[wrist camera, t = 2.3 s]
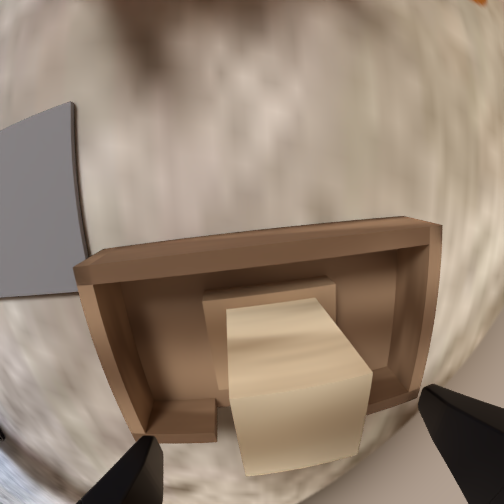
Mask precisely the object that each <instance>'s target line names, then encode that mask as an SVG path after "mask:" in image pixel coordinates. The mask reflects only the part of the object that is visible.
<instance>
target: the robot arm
mask: <svg viewBox="0 0 504 504" xmlns="http://www.w3.org/2000/svg"><path fill="white" fill-rule="evenodd" d="M418 409H419V411H420V414H421V416H422V418H423V420H424V422H425V424H426V427H427V429H428V431H429V433H430V436H431V438H432V440H433V442H434V443H435V445H436V447H437V448H438V450H439V452H440V454H441V455H442V457H443V459H444V461H445V462H446V464H447V466H448V468H449V469H450V471H451V473H452V475H453V476H454V478H455V480H456V482H457V484H458V485H459V487H460V489H461V491H462V493H463V494H464V496H465V498H466V500H467V502H468V504H504V408H501V407H498V406H495V405H492V404H489V403H485V402H483V401H480V400H477V399H474V398H471V397H468V396H465V395H463V394H460V393H457V392H454V391H451V390H449V389H446V388H443V387H441V386H438V385H435V384H431V385H428V386H426V387H424V388H423V389H422V392H421V396H420V399H419V402H418ZM4 440H5V437H4V435H3V434H2V432H1V431H0V441H4ZM162 502H163V451H162V449H161V447H160V445H159V443H158V441H157V438H156V437H155V436H152V435H143V436H141V437H140V438H139V439H138V441H137V442H136V443H135V444H134V445H133V446H132V447H131V448H130V449H129V450H128V451H127V452H126V453H125V454H124V455H123V456H122V457H121V459H120V460H119V461H118V462H117V463H116V464H115V465H114V466H113V467H112V468H111V469H110V470H109V471H108V472H107V473H106V474H105V475H104V476H103V477H102V478H101V479H100V480H99V481H98V482H97V483H96V484H95V485H94V486H93V487H92V488H91V489H90V490H89V491H88V492H87V493H86V494H85V495H84V496H83V497H82V498H81V500H79V501H78V502H77V503H76V504H162Z"/></svg>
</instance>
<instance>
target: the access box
mask: <svg viewBox="0 0 504 504" xmlns="http://www.w3.org/2000/svg"><path fill="white" fill-rule="evenodd" d="M441 251H442V225H439V224H435V223H431V222H427V221H422V220H418V219H414V218H409V217H405V216H398V217H386V218H375V219H363V220H352V221H342V222H331V223H321V224H310V225H301V226H291V227H281V228H272V229H262V230H253V231H244V232H235V233H227V234H218V235H209V236H201V237H193V238H184V239H176V240H168V241H160V242H153V243H145V244H137V245H130V246H122V247H115V248H108V249H103V250H101V251H99V252H98V253H96V254H94V255H92V256H91V257H89V258H87V259H86V260H84V261H82V262H81V263H79V264H77V265H76V266H74V267H73V272H74V276H75V280H76V284H77V288H78V292H79V296H80V300H81V304H82V307H83V311H84V314H85V317H86V321H87V324H88V327H89V330H90V334H91V337H92V340H93V343H94V345H95V348H96V351H97V354H98V357H99V360H100V362H101V365H102V368H103V370H104V373H105V375H106V378H107V380H108V383H109V385H110V388H111V390H112V392H113V395H114V397H115V399H116V401H117V404H118V406H119V408H120V410H121V412H122V415H123V417H124V419H125V421H126V423H127V425H128V427H129V429H130V431H131V433H132V435H133V437H134V439H135V441H136V442H137V441H138V439H139V438H140V437H141V436H143V435H152V436H155V437H156V438H157V441H158V443H208V442H217V407H226V406H231V405H230V400H229V379H228V350H227V314H226V309H234V308H243V307H251V306H259V305H267V304H274V303H282V302H289V301H296V300H303V299H309V298H316V299H317V300H318V302H319V303H320V304H321V306H322V307H323V308H324V309H325V311H326V312H327V313H328V315H329V316H330V317H331V318H332V320H333V321H334V322H335V324H336V325H337V326H338V327H339V329H340V330H341V331H342V333H343V334H344V335H345V337H346V338H347V339H348V340H349V342H350V343H351V344H352V346H353V347H354V348H355V350H356V351H357V352H358V354H359V355H360V356H361V357H362V359H363V360H364V361H365V363H366V364H367V365H368V367H369V368H370V369H371V371H372V372H373V376H372V383H371V389H370V395H369V401H368V407H367V412H366V415H369V414H372V413H375V412H378V411H381V410H384V409H387V408H390V407H393V406H396V405H399V404H402V403H405V402H407V401H410V400H413V399H415V398H417V397H418V393H419V389H420V386H421V382H422V378H423V374H424V370H425V365H426V361H427V356H428V352H429V347H430V342H431V336H432V331H433V325H434V319H435V312H436V305H437V297H438V288H439V278H440V267H441Z"/></svg>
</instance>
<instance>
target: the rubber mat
mask: <svg viewBox="0 0 504 504" xmlns="http://www.w3.org/2000/svg"><path fill="white" fill-rule="evenodd" d="M87 258H89V257H88V252H87V247H86V241H85V235H84V229H83V223H82V216H81V209H80V201H79V193H78V184H77V173H76V160H75V141H74V103H73V102H71V101H70V102H67V103H65V104H62V105H59V106H56V107H54V108H51V109H48V110H46V111H43V112H41V113H38V114H36V115H33V116H31V117H29V118H26V119H24V120H22V121H20V122H17V123H15V124H13V125H11V126H9V127H7V128H5V129H3V130H1V131H0V297H14V296H28V295H41V294H54V293H66V292H78V288H77V284H76V280H75V276H74V272H73V267H74V266H76V265H77V264H79V263H81V262H82V261H84V260H86V259H87Z"/></svg>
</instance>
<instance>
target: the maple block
mask: <svg viewBox="0 0 504 504" xmlns="http://www.w3.org/2000/svg"><path fill="white" fill-rule="evenodd" d="M226 314H227V350H228V379H229V400H230V405H231V410H232V415H233V420H234V425H235V429H236V434H237V439H238V443H239V448H240V452H241V457H242V461H243V465H244V470H245V474H246V477H247V476H256V475H264V474H272V473H278V472H285V471H290V470H296V469H301V468H306V467H311V466H315V465H320V464H324V463H328V462H332V461H336V460H340V459H344V458H347V457H351V456H354V455H357V454H358V450H359V445H360V441H361V437H362V432H363V427H364V422H365V417H366V412H367V407H368V401H369V395H370V389H371V383H372V376H373V372H372V371H371V369H370V368H369V367H368V365H367V364H366V363H365V361H364V360H363V359H362V357H361V356H360V355H359V354H358V352H357V351H356V350H355V348H354V347H353V346H352V344H351V343H350V342H349V340H348V339H347V338H346V337H345V335H344V334H343V333H342V331H341V330H340V329H339V327H338V326H337V325H336V324H335V322H334V321H333V320H332V318H331V317H330V316H329V315H328V313H327V312H326V311H325V309H324V308H323V307H322V306H321V304H320V303H319V302H318V300H317V299H316V298H309V299H303V300H296V301H289V302H282V303H274V304H267V305H259V306H251V307H243V308H234V309H226Z"/></svg>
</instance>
